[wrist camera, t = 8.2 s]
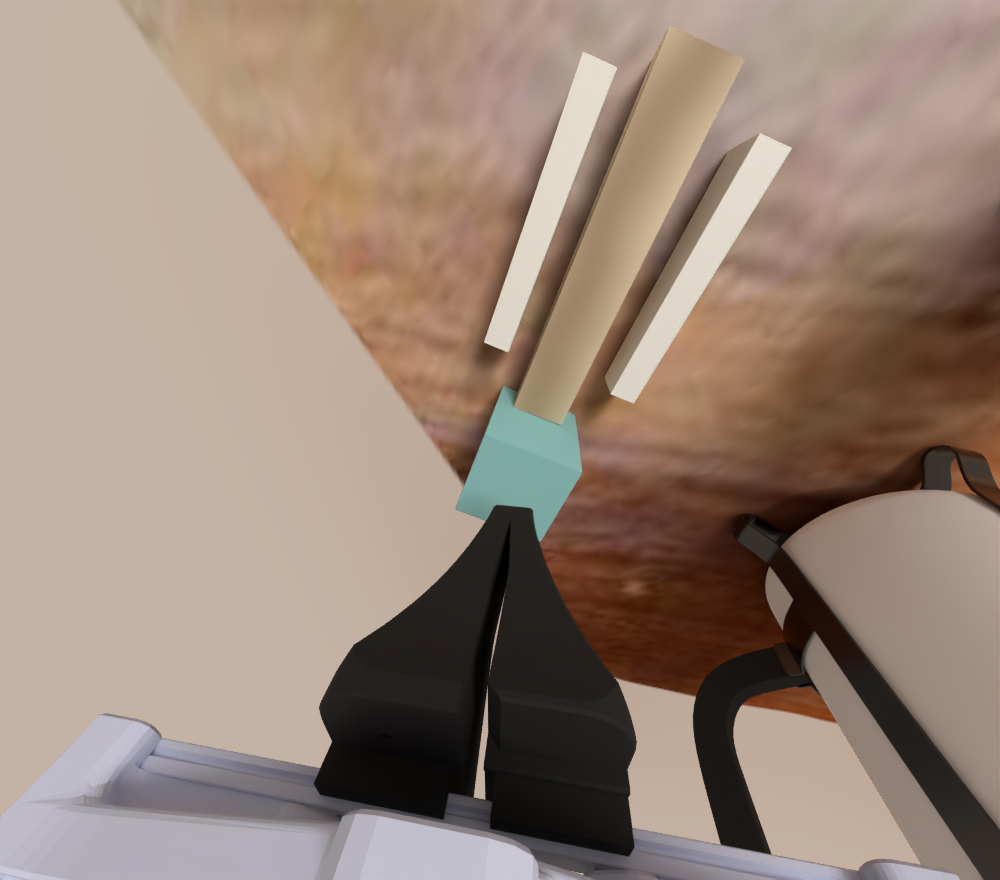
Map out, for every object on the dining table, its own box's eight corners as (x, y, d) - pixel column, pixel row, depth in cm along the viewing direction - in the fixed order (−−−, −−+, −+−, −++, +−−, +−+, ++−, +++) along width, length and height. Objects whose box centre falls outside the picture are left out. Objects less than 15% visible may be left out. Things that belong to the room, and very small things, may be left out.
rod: (712, 90, 13) (744, 59, 11) (560, 405, 20) (561, 425, 18) (650, 63, 13) (669, 25, 11) (518, 389, 20) (513, 407, 18)
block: (575, 414, 20) (582, 472, 15) (543, 472, 22) (540, 541, 17) (503, 385, 20) (485, 434, 15) (478, 447, 22) (455, 509, 17)
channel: (754, 163, 14) (791, 148, 12) (624, 385, 19) (633, 403, 17) (578, 83, 14) (583, 51, 11) (492, 331, 18) (483, 342, 16)
